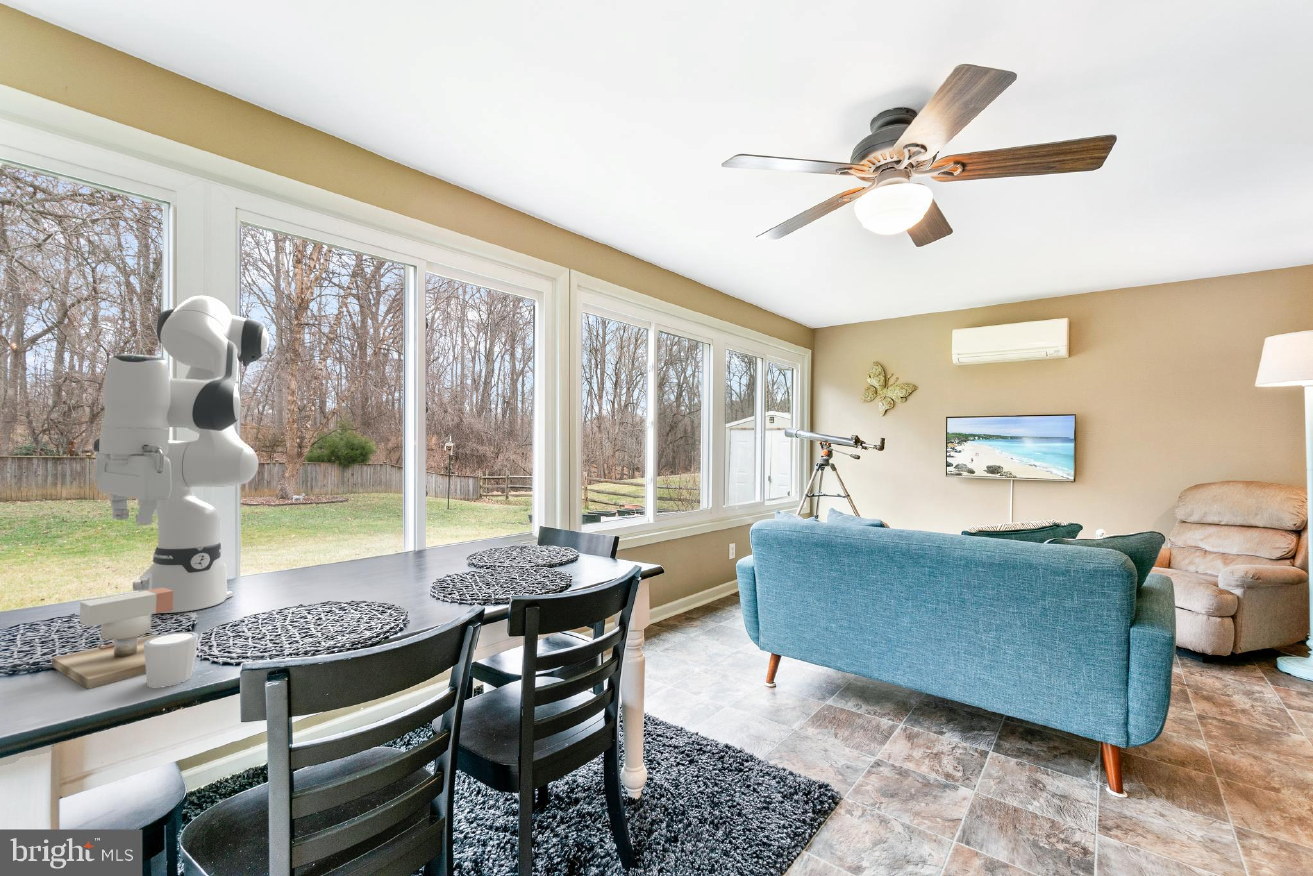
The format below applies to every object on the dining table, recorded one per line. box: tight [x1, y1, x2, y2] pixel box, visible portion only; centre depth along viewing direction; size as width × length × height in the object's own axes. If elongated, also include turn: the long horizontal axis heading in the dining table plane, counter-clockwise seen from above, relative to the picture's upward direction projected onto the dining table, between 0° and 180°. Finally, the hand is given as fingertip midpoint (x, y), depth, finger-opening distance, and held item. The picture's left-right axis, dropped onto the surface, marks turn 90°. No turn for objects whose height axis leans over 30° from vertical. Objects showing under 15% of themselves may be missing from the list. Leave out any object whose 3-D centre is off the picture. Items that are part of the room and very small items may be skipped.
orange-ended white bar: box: [79, 588, 173, 640], centre depth 98 cm, size 6×11×7 cm, turn 152°
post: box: [113, 636, 139, 658], centre depth 98 cm, size 3×3×4 cm
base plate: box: [51, 634, 159, 690], centre depth 98 cm, size 16×14×2 cm
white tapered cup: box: [144, 631, 199, 688], centre depth 92 cm, size 7×7×7 cm
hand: (131, 522), depth 98 cm, fingers open, 8 cm apart
